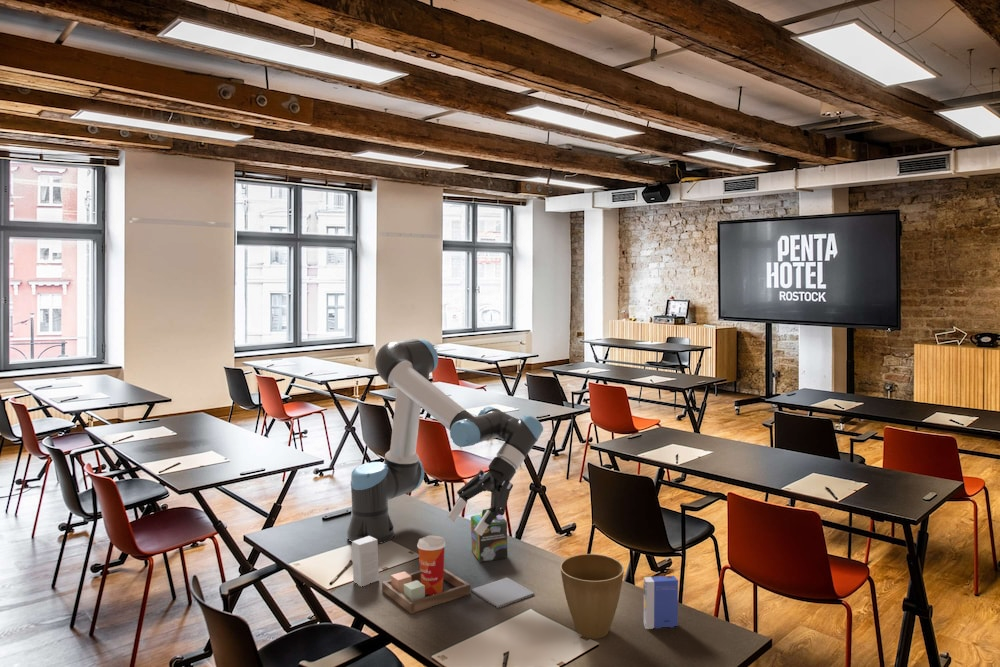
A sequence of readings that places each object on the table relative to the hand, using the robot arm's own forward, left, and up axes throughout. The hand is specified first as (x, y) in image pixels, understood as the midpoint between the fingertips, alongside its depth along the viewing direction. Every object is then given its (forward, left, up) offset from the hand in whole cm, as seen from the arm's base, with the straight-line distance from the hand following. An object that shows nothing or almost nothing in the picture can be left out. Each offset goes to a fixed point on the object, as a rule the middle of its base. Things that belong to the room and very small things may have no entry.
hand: (463, 526), depth 192 cm
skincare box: (-16, -22, -16) cm, 32 cm away
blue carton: (+50, +24, -16) cm, 57 cm away
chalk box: (-10, +16, -16) cm, 25 cm away
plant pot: (+42, +9, -16) cm, 45 cm away
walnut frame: (0, -12, -16) cm, 20 cm away
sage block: (+3, -18, -16) cm, 24 cm away
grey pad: (+13, +4, -16) cm, 21 cm away
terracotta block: (-4, -18, -16) cm, 24 cm away
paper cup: (0, -10, -16) cm, 19 cm away
